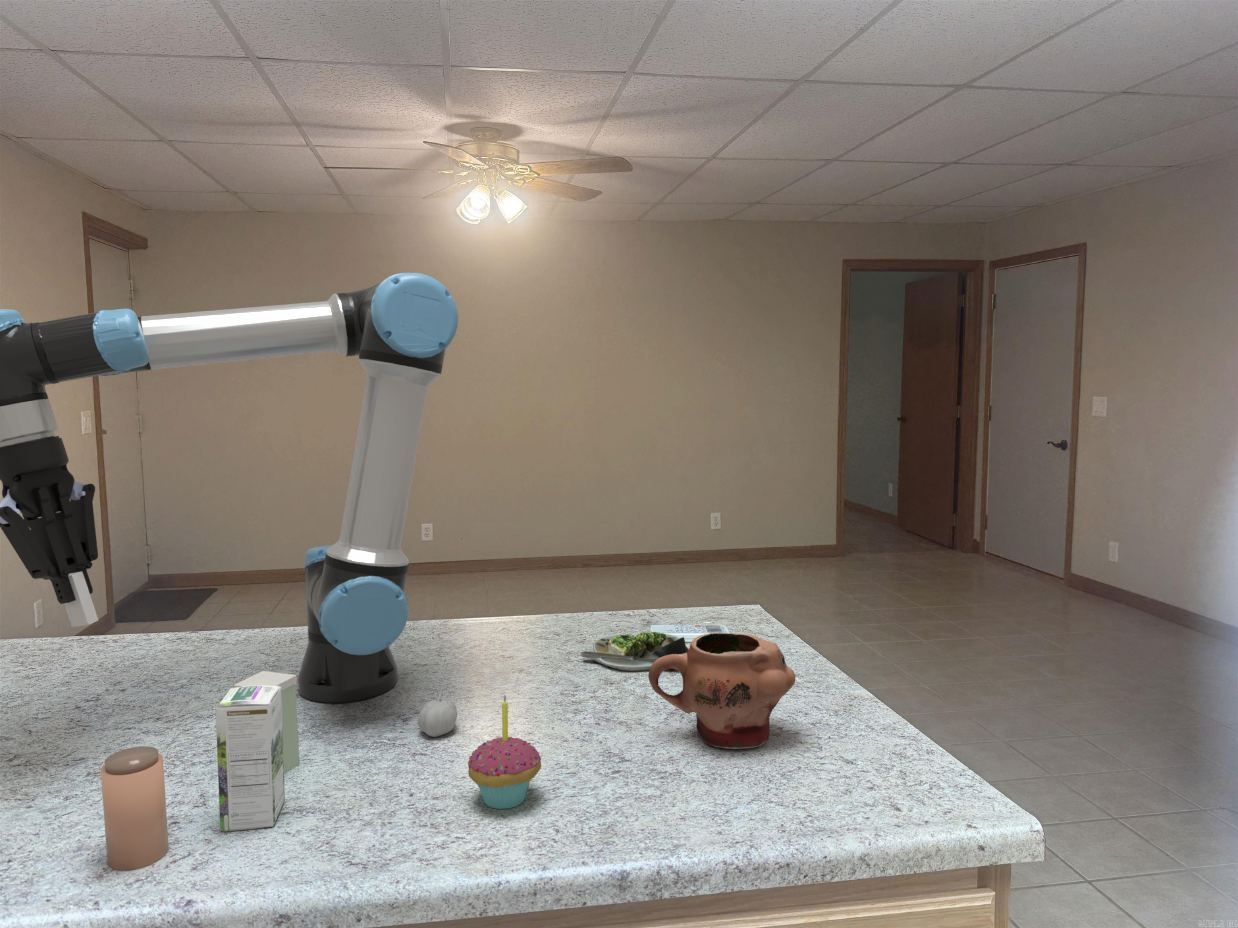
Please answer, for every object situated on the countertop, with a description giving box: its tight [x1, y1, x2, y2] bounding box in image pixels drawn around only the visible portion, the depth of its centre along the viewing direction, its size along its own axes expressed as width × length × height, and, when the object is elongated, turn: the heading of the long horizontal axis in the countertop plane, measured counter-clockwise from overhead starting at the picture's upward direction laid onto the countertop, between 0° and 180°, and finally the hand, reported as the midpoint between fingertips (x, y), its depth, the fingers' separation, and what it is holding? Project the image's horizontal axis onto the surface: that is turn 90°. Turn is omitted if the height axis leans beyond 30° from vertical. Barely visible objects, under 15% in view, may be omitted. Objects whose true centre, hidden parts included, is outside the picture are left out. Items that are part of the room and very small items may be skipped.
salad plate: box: [580, 631, 689, 672], centre depth 148 cm, size 19×18×5 cm
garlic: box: [417, 693, 458, 738], centre depth 118 cm, size 6×5×5 cm
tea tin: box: [232, 670, 300, 774], centre depth 106 cm, size 5×5×12 cm
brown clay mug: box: [648, 632, 796, 750], centre depth 115 cm, size 20×12×14 cm, turn 97°
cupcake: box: [467, 694, 542, 810], centre depth 99 cm, size 9×8×12 cm
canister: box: [100, 745, 170, 872], centre depth 88 cm, size 6×6×11 cm
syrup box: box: [215, 685, 286, 832], centre depth 95 cm, size 6×6×14 cm
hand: (85, 623), depth 105 cm, fingers closed
